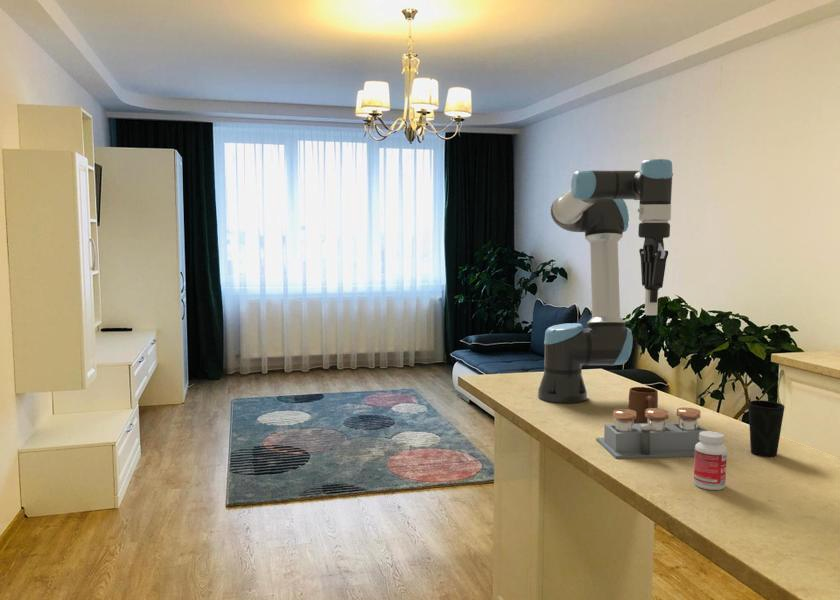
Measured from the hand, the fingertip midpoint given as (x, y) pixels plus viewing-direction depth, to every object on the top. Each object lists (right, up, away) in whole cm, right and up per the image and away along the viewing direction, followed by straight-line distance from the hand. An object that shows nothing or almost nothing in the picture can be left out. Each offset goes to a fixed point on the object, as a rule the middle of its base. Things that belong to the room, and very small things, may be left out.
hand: (650, 314), depth 176 cm
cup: (+23, -33, -11) cm, 42 cm away
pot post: (-6, -32, -13) cm, 36 cm away
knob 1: (-9, -32, -8) cm, 34 cm away
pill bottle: (+1, -35, -32) cm, 48 cm away
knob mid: (-1, -32, -7) cm, 33 cm away
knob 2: (+7, -32, -7) cm, 33 cm away
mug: (+2, -31, +12) cm, 33 cm away
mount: (-1, -32, -7) cm, 33 cm away
